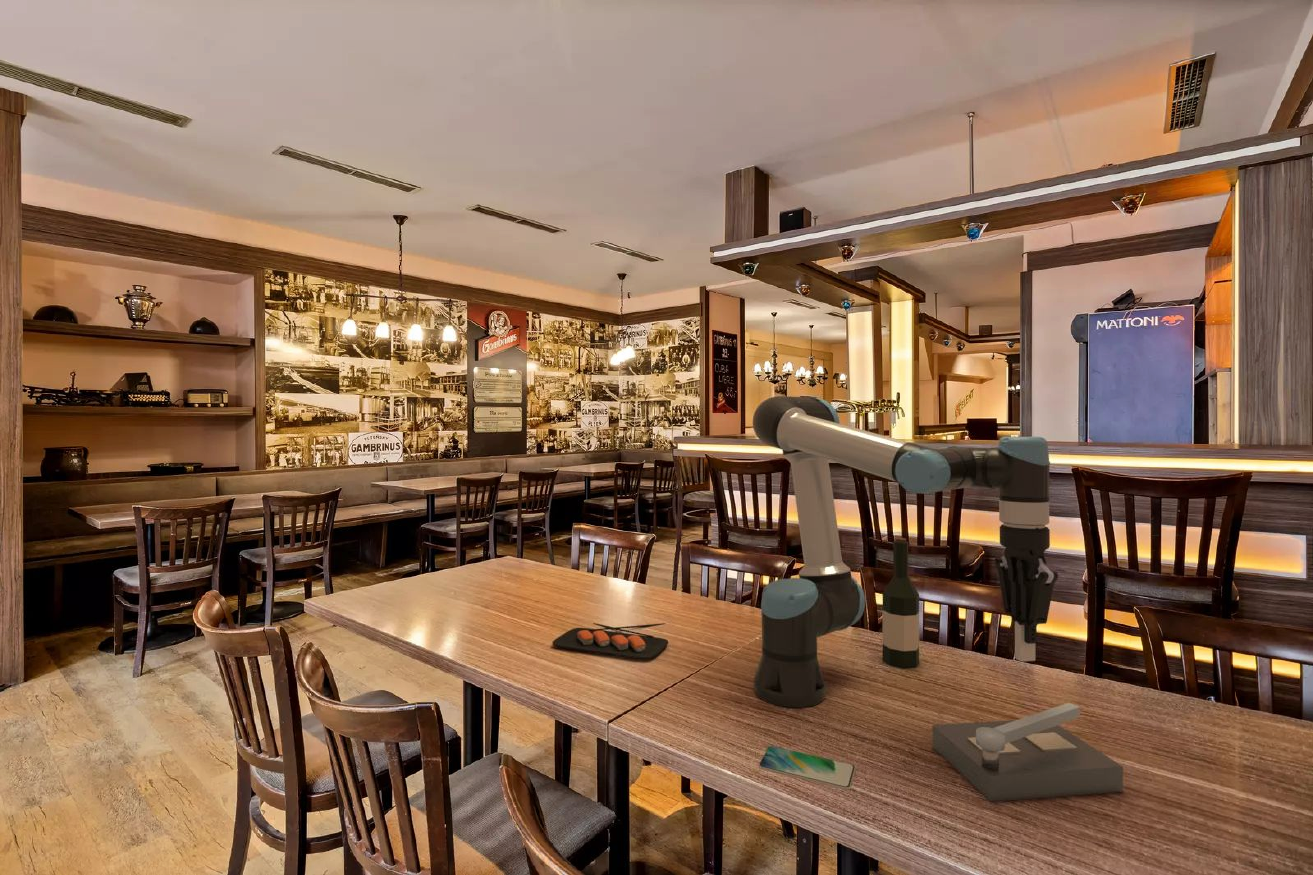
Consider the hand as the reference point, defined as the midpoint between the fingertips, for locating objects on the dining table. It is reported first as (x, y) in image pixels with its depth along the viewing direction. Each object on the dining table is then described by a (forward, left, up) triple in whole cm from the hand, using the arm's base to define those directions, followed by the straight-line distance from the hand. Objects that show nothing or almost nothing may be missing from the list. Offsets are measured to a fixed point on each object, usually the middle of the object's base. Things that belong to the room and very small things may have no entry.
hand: (1025, 659), depth 107 cm
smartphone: (-40, 0, -17) cm, 43 cm away
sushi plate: (-67, +67, -17) cm, 97 cm away
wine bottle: (-1, +41, -17) cm, 44 cm away
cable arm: (-4, -6, -9) cm, 12 cm away
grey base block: (-4, -5, -16) cm, 17 cm away
